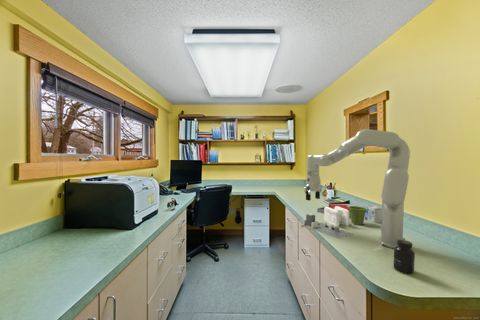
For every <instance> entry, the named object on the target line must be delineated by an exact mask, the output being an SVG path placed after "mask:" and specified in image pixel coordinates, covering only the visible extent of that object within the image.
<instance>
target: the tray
mask: <svg viewBox="0 0 480 320" xmlns="http://www.w3.org/2000/svg"><path fill="white" fill-rule="evenodd" d="M325 207H329V205H327V206H322V207H318V208H317V213H321V214H324V208H325ZM349 219H351V216H349Z"/></svg>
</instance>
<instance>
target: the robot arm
mask: <svg viewBox="0 0 480 320" xmlns="http://www.w3.org/2000/svg"><path fill="white" fill-rule="evenodd" d="M367 146H370V147H377V148H382V149H387V150H388V152H389V158H388V166H387V169H386V171H385V173H384V178H383V186H382V189H381V194H380V195H381V197H380V198H381V208H382V212H381V222H380V223H381V224H380V225H381V227H380V232H381V233H380V234H381V235H380V237H379V238H377V242H379V243H381V246H383V247H387V248H389V249H390V248H391V249H394V247H395V246H398V245H397V241H398V240H406V238H405V237H404V210H405V209H404V208H405V206H404V205H405V200H406V195H407V191H408V190H407V189H408V184H409V177H410V175H409V173H408V172H409V171H408V170H409V164H410V157H411V151H410V150H411V149H410V148H409V145H408V143H407V142H406V141H405V140H404V139H402V138H401V137H400V136H399V135H398V133H395V132H393V131H385V130H379V129H378V130H377V129H370V128H369V129H368V128H364V129H360V130H359V131H357V133H356V134H355V135H354V136H351V138H348V139H346V140H345V141H343V142H341V143H340V145H339V146H338V147H337V148H336V149H335V150H333V151H330V152H329V153H327V154H309V155H307V156H306V159H307V160H306V173H307V174H306V179H305V180H306V181H305V186H304V187H303V191H304V193H305V200H306V201H311V197H312V196H311V195H312V194H311V192H314V194H315V196H314V198H315V199H317V200H320V199H321V191H322V187H323V186H322V184H321V182H322V181H321V176H320V167H329V166H332V165H334V164H336V163H338V162H340V161H342V160H343V159H345V158H347V157H350V156H351V155H353V154H354V153H357V152H358V151H360V150H362V149H364V148H366V147H367ZM412 248H413V243H412Z"/></svg>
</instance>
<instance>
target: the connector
mask: <svg viewBox="0 0 480 320" xmlns="http://www.w3.org/2000/svg"><path fill="white" fill-rule="evenodd" d="M305 219H306V225H307V226H310V227H311V225H312V222H316V215H315V214H314V213H311V212H310V213H307V214H306V217H305Z"/></svg>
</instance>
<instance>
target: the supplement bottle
mask: <svg viewBox="0 0 480 320" xmlns="http://www.w3.org/2000/svg"><path fill="white" fill-rule="evenodd" d="M412 244H413V243H412V242H411V241H409V240H406V239H405V240H398V241H397V245H398V246H395V247H394V248H393V262H392V263H393V264H392V266H393V268H394V270H395V271H397V272H399V273H402V274H404V275H413V274H414V273H415V264H416V263H415V261H416V260H415V259H416V252H415V251H414V249H413V247H412Z"/></svg>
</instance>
